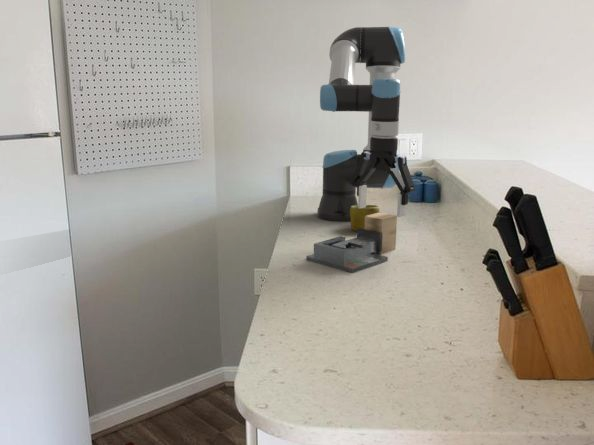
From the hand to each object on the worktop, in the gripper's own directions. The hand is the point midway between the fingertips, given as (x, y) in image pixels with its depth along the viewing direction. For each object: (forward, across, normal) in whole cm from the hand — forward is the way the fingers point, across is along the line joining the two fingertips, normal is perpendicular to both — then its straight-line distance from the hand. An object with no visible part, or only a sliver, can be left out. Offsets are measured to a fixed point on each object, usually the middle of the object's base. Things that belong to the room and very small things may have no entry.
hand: (381, 211), depth 167 cm
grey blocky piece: (+9, +2, -12) cm, 15 cm away
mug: (+12, -18, +15) cm, 26 cm away
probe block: (+11, 0, -1) cm, 11 cm away
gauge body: (+11, 0, -15) cm, 18 cm away
